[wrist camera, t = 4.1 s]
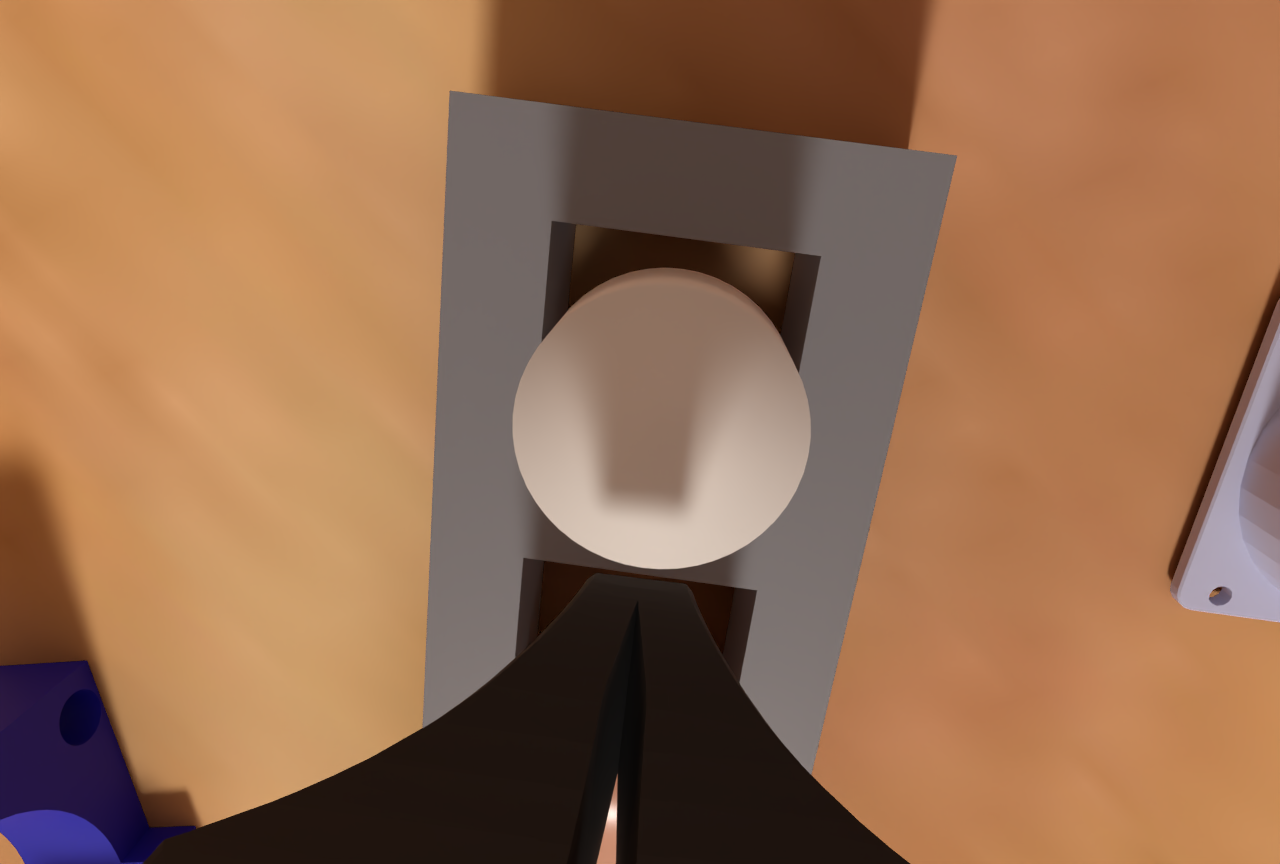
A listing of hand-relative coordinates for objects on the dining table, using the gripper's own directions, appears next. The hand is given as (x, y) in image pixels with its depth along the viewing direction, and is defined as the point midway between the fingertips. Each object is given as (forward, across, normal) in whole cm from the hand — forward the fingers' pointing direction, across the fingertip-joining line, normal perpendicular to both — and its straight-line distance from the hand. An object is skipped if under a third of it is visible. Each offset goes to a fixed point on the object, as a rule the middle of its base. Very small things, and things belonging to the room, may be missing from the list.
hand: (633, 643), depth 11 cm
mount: (+9, 0, +5) cm, 11 cm away
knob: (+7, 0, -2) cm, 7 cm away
